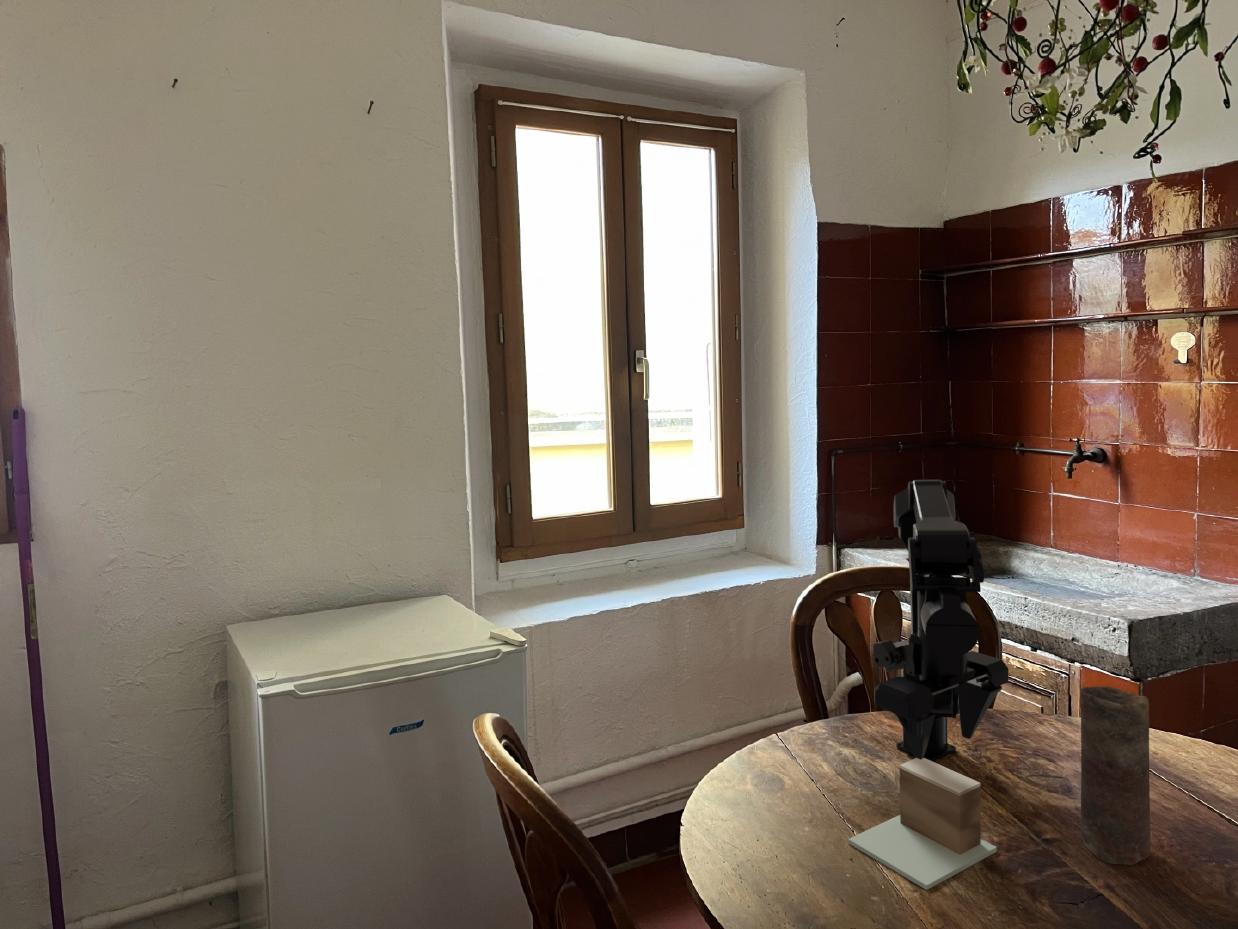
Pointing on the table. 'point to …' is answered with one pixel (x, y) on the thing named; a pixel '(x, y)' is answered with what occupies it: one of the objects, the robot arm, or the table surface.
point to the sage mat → (916, 853)
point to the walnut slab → (940, 804)
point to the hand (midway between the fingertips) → (943, 747)
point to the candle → (1115, 774)
